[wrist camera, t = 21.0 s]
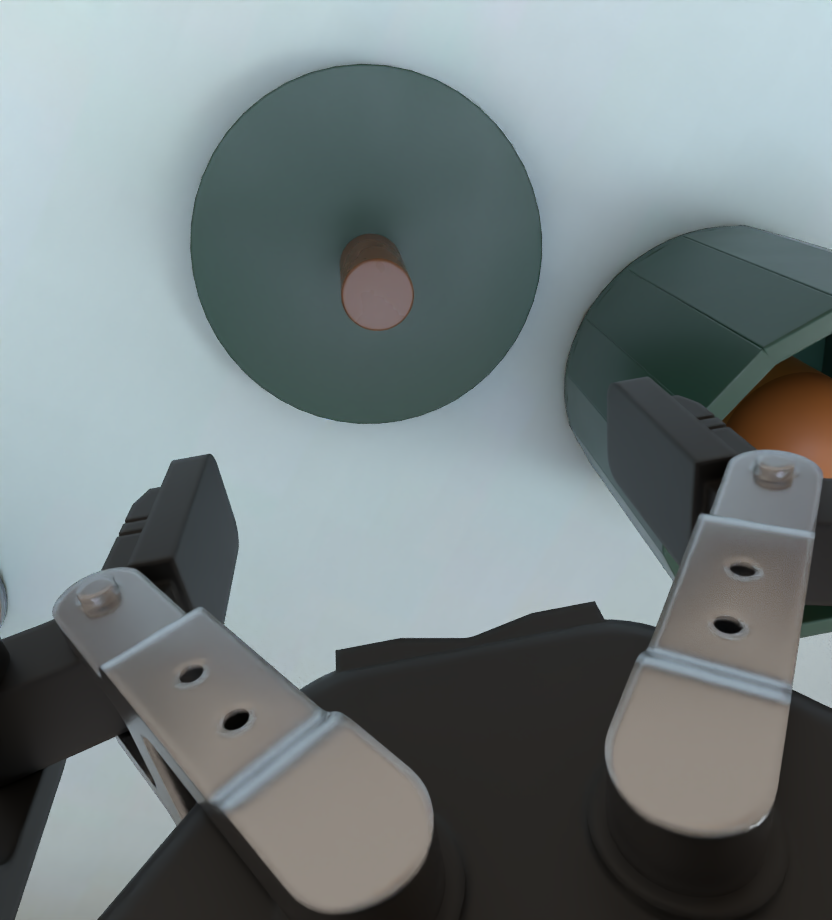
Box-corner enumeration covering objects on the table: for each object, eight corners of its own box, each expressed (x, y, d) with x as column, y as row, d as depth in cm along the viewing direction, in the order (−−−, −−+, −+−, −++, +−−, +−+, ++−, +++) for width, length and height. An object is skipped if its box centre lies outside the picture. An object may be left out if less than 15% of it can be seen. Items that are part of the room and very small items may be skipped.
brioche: (650, 434, 35) (751, 542, 26) (651, 332, 32) (763, 416, 24) (754, 414, 35) (888, 515, 26) (763, 311, 32) (915, 387, 24)
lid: (247, 439, 33) (231, 506, 28) (144, 100, 26) (95, 100, 21) (545, 384, 33) (586, 440, 28) (522, 35, 26) (571, 19, 21)
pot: (569, 510, 37) (659, 666, 27) (557, 254, 30) (668, 333, 20) (815, 463, 37) (995, 601, 27) (854, 201, 31) (1111, 252, 20)
